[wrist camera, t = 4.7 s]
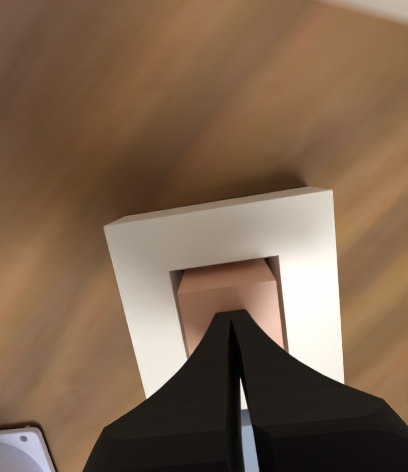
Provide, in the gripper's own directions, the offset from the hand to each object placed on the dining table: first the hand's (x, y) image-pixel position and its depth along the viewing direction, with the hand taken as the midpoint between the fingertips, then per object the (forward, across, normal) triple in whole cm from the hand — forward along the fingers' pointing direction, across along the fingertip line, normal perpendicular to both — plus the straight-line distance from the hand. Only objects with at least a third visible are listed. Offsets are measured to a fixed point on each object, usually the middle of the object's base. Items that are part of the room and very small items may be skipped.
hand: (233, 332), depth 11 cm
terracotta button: (+3, 0, 0) cm, 3 cm away
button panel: (+5, 0, +8) cm, 9 cm away
